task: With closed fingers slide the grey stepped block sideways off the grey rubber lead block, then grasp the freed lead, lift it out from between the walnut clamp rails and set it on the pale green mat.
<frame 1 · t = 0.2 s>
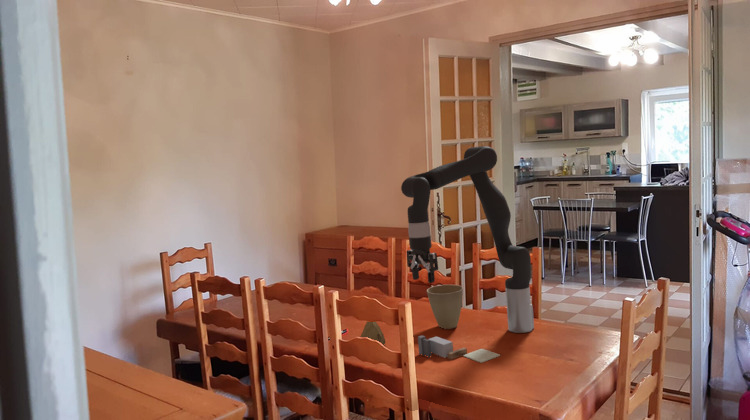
hand: (423, 281, 197), 28 cm above the table, fingers open, 8 cm apart
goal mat: (481, 356, 199), on the table
clamp rails: (445, 351, 206), on the table
grey stepped block: (425, 346, 204), point 3 cm above the table, slide at 0.0 cm
rock: (372, 345, 221), on the table
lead: (441, 353, 205), on the table
plant pot: (447, 326, 235), on the table
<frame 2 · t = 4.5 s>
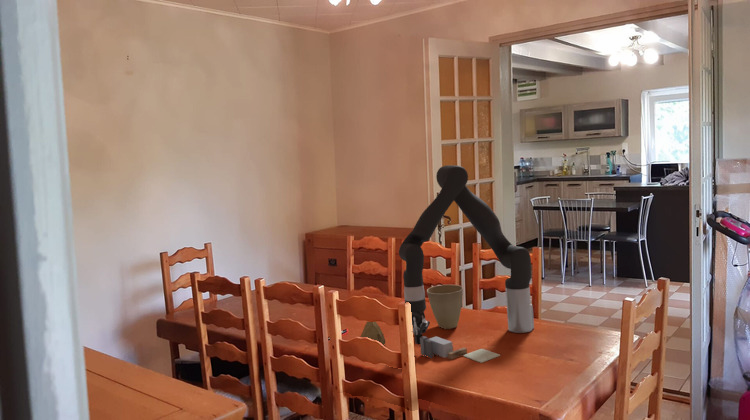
hand: (418, 343, 207), 3 cm above the table, fingers closed
grey stepped block: (427, 347, 203), point 3 cm above the table, slide at 1.2 cm, touching gripper
everything else where it was.
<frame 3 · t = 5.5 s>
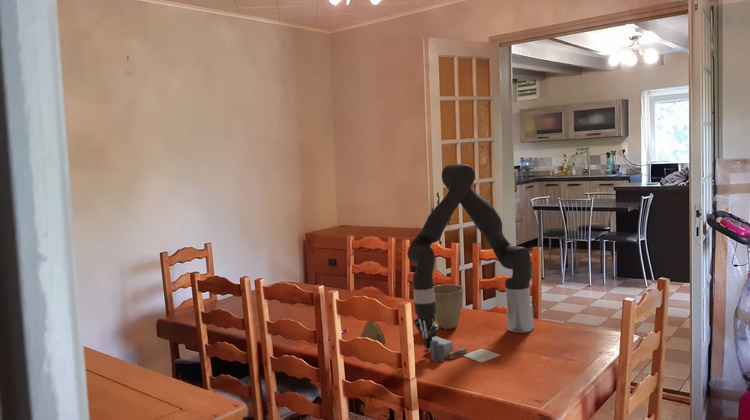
hand: (428, 347, 202), 3 cm above the table, fingers closed
grey stepped block: (437, 351, 198), point 3 cm above the table, slide at 7.1 cm, touching gripper
everything else where it was.
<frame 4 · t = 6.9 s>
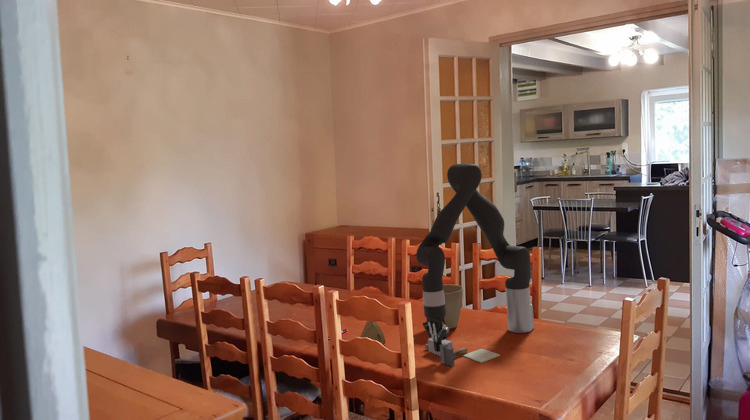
hand: (438, 350, 198), 3 cm above the table, fingers closed
grey stepped block: (447, 354, 194), point 3 cm above the table, slide at 12.4 cm, touching gripper
everything else where it was.
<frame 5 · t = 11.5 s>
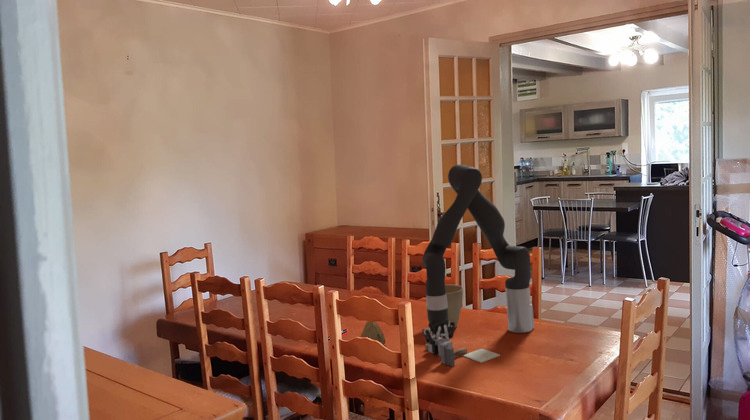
hand: (441, 352, 205), 0 cm above the table, fingers closed on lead, 4 cm apart
grey stepped block: (447, 355, 194), point 3 cm above the table, slide at 12.5 cm
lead: (440, 353, 205), on the table, touching gripper
everything else where it was.
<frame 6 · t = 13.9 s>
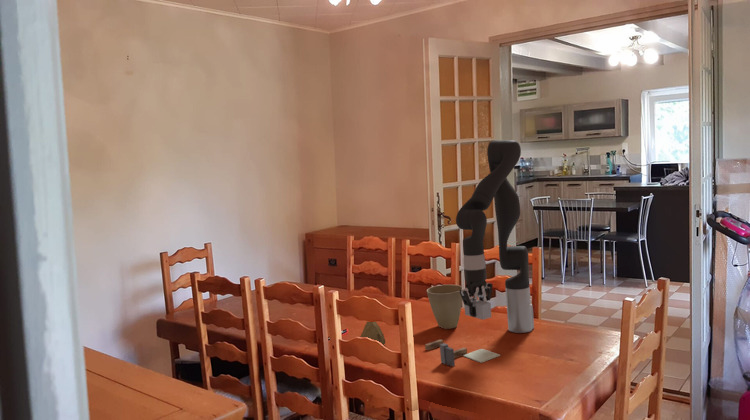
hand: (478, 314, 197), 15 cm above the table, fingers closed on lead, 4 cm apart
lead: (478, 315, 197), point 14 cm above the table, touching gripper
everything else where it was.
when the fingers open (2 cm above the table, at t = 16.5 s): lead drops 1 cm, resting on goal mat.
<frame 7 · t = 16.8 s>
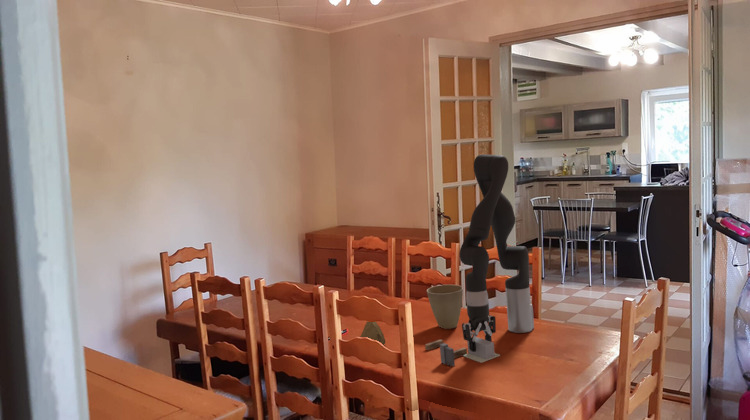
hand: (480, 348, 198), 3 cm above the table, fingers open, 6 cm apart
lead: (481, 354, 199), resting on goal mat
everything else where it was.
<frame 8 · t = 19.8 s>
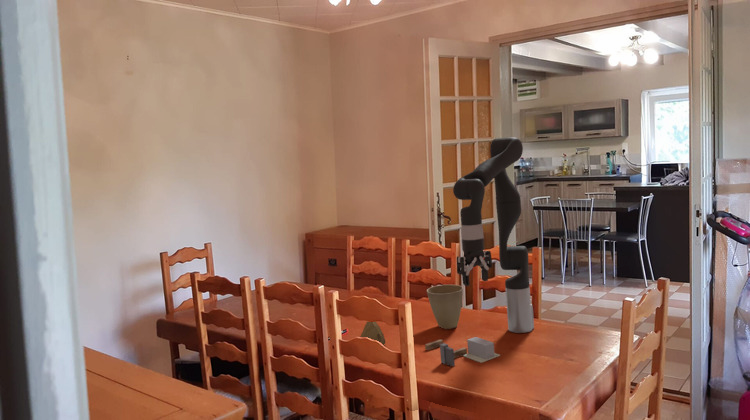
hand: (476, 283, 196), 26 cm above the table, fingers open, 8 cm apart
nothing on the table moved.
at the end: grey stepped block slide at 12.5 cm; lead inside the target area (0.1 cm from its centre), resting on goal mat; the gripper is holding nothing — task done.
